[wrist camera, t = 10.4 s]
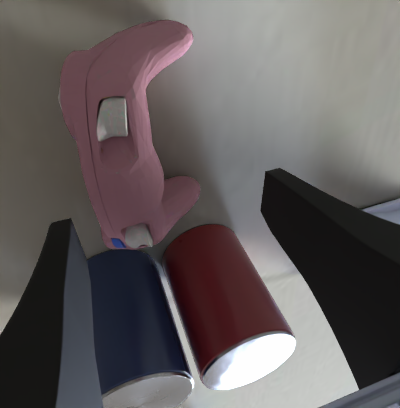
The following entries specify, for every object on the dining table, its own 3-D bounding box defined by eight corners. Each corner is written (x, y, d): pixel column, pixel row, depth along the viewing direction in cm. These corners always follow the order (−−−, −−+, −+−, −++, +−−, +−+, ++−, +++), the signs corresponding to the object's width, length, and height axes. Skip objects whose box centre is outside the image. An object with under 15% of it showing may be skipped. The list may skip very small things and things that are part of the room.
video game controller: (92, 10, 15) (6, 73, 10) (195, 9, 15) (161, 75, 9) (131, 185, 22) (91, 277, 17) (203, 189, 21) (185, 285, 16)
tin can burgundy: (239, 215, 25) (305, 320, 18) (235, 267, 29) (289, 367, 22) (157, 237, 23) (200, 358, 17) (165, 288, 27) (202, 401, 21)
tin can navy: (152, 238, 23) (192, 361, 17) (161, 289, 27) (196, 404, 21) (59, 263, 22) (67, 406, 16) (83, 313, 26) (97, 443, 20)
